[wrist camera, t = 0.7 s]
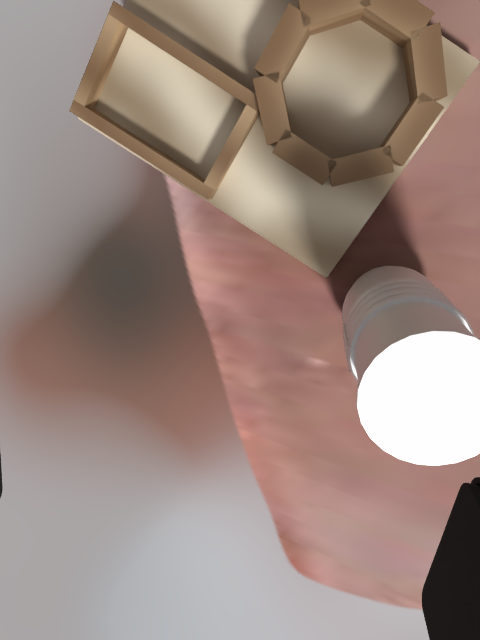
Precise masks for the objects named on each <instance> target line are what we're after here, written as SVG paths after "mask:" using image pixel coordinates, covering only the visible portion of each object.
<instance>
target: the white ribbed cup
mask: <svg viewBox="0 0 480 640" xmlns="http://www.w3.org/2000/svg"><path fill="white" fill-rule="evenodd" d="M342 319H343V339H344V346H345V352H346V358H347V363H348V367H349V371H350V372H352V374H353V376H354V377H355V379H356V381H357V382H358V385H357V402H356V403H357V408H358V412H359V416H360V420H361V424H362V425H363V427H364V429H365V430H366V432H367V434H368V435H369V437H370V438H371V439H372V440H373V441H374V442H375V443H376V444H377V445H378V446H379V447H380V448H381V449H382V450H384V451H386V452H387V453H389V454H391V455H393V456H394V457H396V458H398V459H401V460H404V461H408V462H411V463H414V464H420V465H435V466H438V465H445V464H452V463H457V462H460V461H463V460H466V459H468V458H471V457H474V456H476V455H478V454H479V453H480V339H479V338H478V337H476V336H474V332H473V330H472V328H471V326H470V324H469V322H468V320H467V318H466V317H465V316H464V315H463V314H462V313H461V312H460V311H459V310H458V309H457V308H456V307H455V306H454V305H453V303H452V302H451V301H450V300H449V299H448V298H447V297H446V296H445V295H444V294H443V293H442V292H441V291H440V290H439V289H438V288H436V287H435V286H434V285H433V284H432V283H431V282H430V281H429V280H428V279H427V278H426V277H425V276H424V275H422V274H420V273H419V272H417V271H415V270H413V269H409V268H405V267H402V266H381V267H377V268H373V269H371V270H369V271H368V272H366V273H364V274H363V275H361V276H360V277H359V278H358V279H357V280H356V281H355V282H354V284H353V285H352V287H351V288H350V290H349V292H348V293H347V295H346V297H345V301H344V304H343V309H342Z"/></svg>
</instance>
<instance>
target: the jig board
mask: <svg viewBox="0 0 480 640" xmlns="http://www.w3.org/2000/svg"><path fill="white" fill-rule="evenodd" d="M433 15H434V12H433V11H432V10H430V9H429V8H427V7H426V6H424V5H423V4H421V3H420V2H418V1H417V0H126V2H125V5H124V7H122V6H121V5H119V4H118V3H116V2H114V1H113V3H112V6H111V8H110V11H109V13H108V16H107V18H106V21H105V23H104V26H103V28H102V31H101V33H100V36H99V38H98V41H97V43H96V46H95V48H94V51H93V53H92V55H91V58H90V60H89V63H88V65H87V68H86V70H85V73H84V75H83V78H82V81H81V83H80V85H79V88H78V90H77V93H76V95H75V98H74V100H73V103H72V105H71V108H70V110H69V111H70V112H72V113H73V114H75V115H76V116H78V119H79V120H81V121H83V122H84V123H86V124H87V125H89V126H90V127H92V128H93V129H95V130H96V131H98V132H100V133H101V134H103V135H104V136H106V137H107V138H109V139H110V140H112V141H114V142H115V143H117V144H119V145H120V146H121V147H123V148H125V149H126V150H128V151H129V152H131V153H132V154H134V155H135V156H137V157H139V158H140V159H142V160H143V161H145V162H147V163H148V164H150V165H151V166H153V167H154V168H156V169H157V170H159V171H161V172H162V173H164V174H165V175H167V176H168V177H170V178H171V179H173V180H175V181H176V182H178V183H179V184H181V185H182V186H184V187H185V188H187V189H189V190H190V191H192V192H193V193H195V194H196V195H198V196H199V197H201V198H203V199H204V200H206V201H207V202H209V203H210V204H212V205H214V206H215V207H217V208H218V209H220V210H221V211H223V212H224V213H226V214H228V215H229V216H231V217H232V218H234V219H235V220H237V221H239V222H240V223H242V224H243V225H245V226H246V227H248V228H249V229H251V230H253V231H254V232H256V233H257V234H259V235H260V236H262V237H264V238H265V239H267V240H268V241H270V242H271V243H273V244H274V245H276V246H278V247H279V248H281V249H282V250H284V251H285V252H287V253H289V254H290V255H292V256H293V257H295V258H296V259H298V260H299V261H301V262H303V263H304V264H306V265H307V266H309V267H310V268H312V269H313V270H315V271H317V272H318V273H320V274H321V275H323V276H324V277H326V278H327V277H328V276H329V274H330V273H331V271H332V270H333V269H334V267H335V266H336V264H337V263H338V261H339V260H340V259H341V257H342V256H343V254H344V253H345V252H346V250H347V249H348V247H349V246H350V245H351V243H352V242H353V240H354V239H355V237H356V236H357V235H358V233H359V232H360V230H361V229H362V228H363V226H364V225H365V223H366V222H367V221H368V219H369V218H370V216H371V215H372V213H373V212H374V211H375V209H376V208H377V206H378V205H379V204H380V202H381V201H382V199H383V198H384V197H385V195H386V194H387V192H388V191H389V189H390V188H391V187H392V185H393V184H394V182H395V181H396V180H397V178H398V177H399V175H400V174H401V173H402V171H403V170H404V168H405V167H406V166H407V164H408V163H409V161H410V160H411V158H412V157H413V156H414V154H415V153H416V151H417V150H418V149H419V147H420V146H421V144H422V143H423V142H424V140H425V139H426V137H427V136H428V134H429V133H430V132H431V130H432V129H433V127H434V126H435V125H436V123H437V122H438V120H439V119H440V118H441V116H442V115H443V113H444V112H445V110H446V109H447V108H448V106H449V105H450V103H451V102H452V101H453V99H454V98H455V96H456V95H457V94H458V92H459V91H460V89H461V88H462V87H463V85H464V84H465V82H466V81H467V79H468V78H469V77H470V75H471V74H472V72H473V71H474V70H475V68H476V67H477V65H478V64H479V63H480V61H479V60H477V59H476V58H474V57H473V56H471V55H470V54H468V53H467V52H465V51H464V50H462V49H461V48H459V47H458V46H456V45H455V44H453V43H452V42H451V41H449V40H448V39H446V38H445V37H443V36H442V35H441V26H440V23H436V24H433V25H430V26H427V24H428V22H429V21H430V19H431V18H432V16H433Z"/></svg>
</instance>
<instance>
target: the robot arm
mask: <svg viewBox="0 0 480 640" xmlns="http://www.w3.org/2000/svg"><path fill="white" fill-rule="evenodd" d="M1 494H2V473H1V456H0V497H1ZM422 607H423V613H424V617H425V621H426V625H427V630H428V634H429V638H430V640H480V477H477V478H474V479H473V480H472V482H471V484H470V483H463V484H462V485H461V487H460V490H459V492H458V495H457V498H456V500H455V503H454V506H453V508H452V511H451V514H450V517H449V519H448V522H447V525H446V527H445V530H444V533H443V535H442V538H441V541H440V544H439V546H438V549H437V552H436V554H435V557H434V560H433V562H432V565H431V568H430V570H429V573H428V576H427V579H426V581H425V584H424V587H423V592H422Z"/></svg>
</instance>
